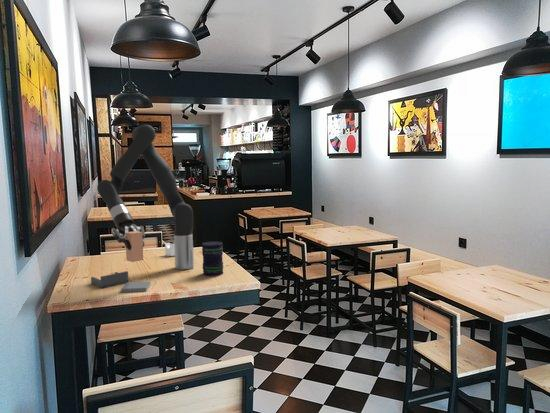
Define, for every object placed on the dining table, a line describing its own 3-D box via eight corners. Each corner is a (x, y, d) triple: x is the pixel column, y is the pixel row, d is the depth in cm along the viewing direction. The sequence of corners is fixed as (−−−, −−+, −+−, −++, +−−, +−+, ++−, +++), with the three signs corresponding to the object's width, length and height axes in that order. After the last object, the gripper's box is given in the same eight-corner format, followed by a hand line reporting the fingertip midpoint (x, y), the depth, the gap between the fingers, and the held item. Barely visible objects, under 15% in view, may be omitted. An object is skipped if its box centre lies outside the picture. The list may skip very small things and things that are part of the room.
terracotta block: (126, 260, 173) (125, 232, 172) (137, 258, 177) (136, 231, 176) (132, 262, 170) (131, 233, 169) (143, 260, 173) (142, 232, 172)
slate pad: (150, 284, 180) (150, 281, 180) (146, 291, 170) (146, 287, 170) (127, 285, 179) (126, 282, 179) (121, 292, 169) (121, 288, 169)
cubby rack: (91, 283, 183) (90, 272, 182) (117, 278, 191) (116, 267, 191) (102, 288, 175) (101, 277, 175) (128, 282, 184) (127, 271, 183)
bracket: (171, 257, 236) (170, 244, 235) (165, 255, 241) (165, 243, 240) (191, 254, 244) (190, 241, 244) (185, 252, 250) (184, 240, 249)
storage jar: (198, 274, 196) (197, 243, 195) (213, 270, 204) (212, 240, 203) (213, 277, 190) (212, 245, 189) (227, 273, 198) (227, 242, 197)
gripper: (108, 213, 171) (123, 244, 164) (139, 210, 182) (155, 240, 175) (103, 224, 175) (117, 255, 168) (134, 221, 186) (149, 250, 179)
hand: (136, 247), depth 172 cm, fingers closed on terracotta block, 5 cm apart
